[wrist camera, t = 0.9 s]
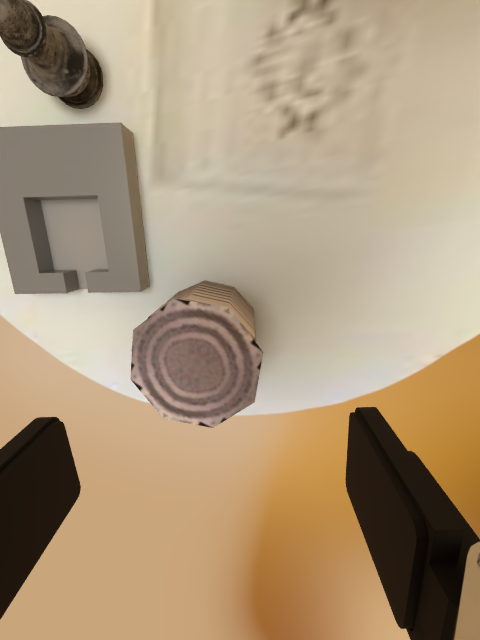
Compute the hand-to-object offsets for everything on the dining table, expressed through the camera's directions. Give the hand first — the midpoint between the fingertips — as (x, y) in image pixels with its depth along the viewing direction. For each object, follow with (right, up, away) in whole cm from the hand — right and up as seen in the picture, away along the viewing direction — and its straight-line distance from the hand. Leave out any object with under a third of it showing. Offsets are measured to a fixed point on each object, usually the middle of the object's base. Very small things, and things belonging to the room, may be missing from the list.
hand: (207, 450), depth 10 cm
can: (-3, +4, +27) cm, 27 cm away
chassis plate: (-17, +16, +23) cm, 33 cm away
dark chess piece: (-15, +28, +20) cm, 38 cm away
